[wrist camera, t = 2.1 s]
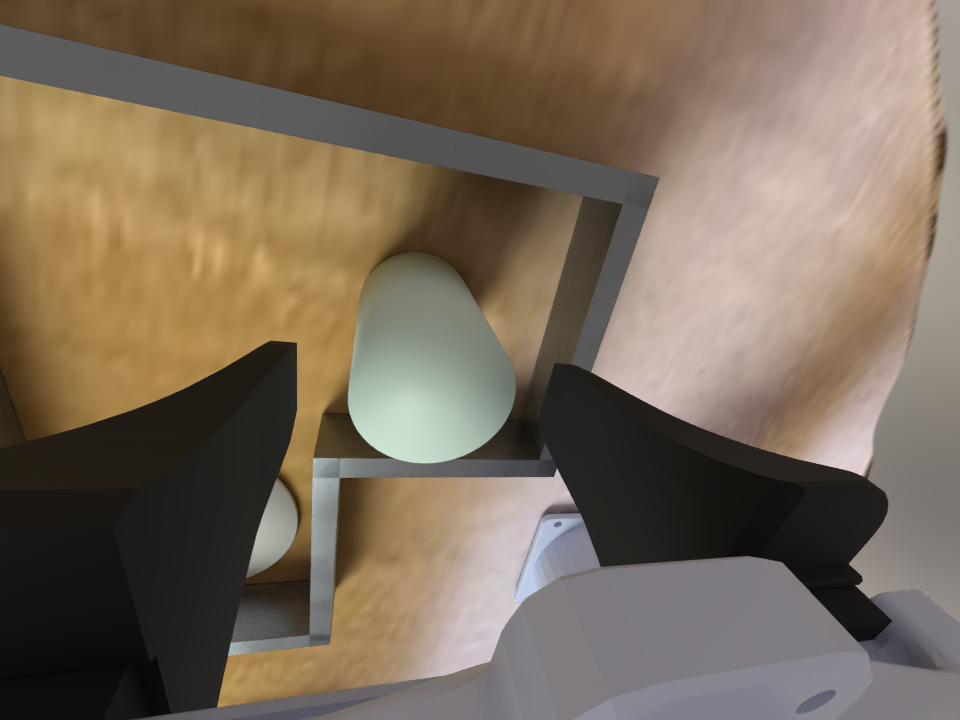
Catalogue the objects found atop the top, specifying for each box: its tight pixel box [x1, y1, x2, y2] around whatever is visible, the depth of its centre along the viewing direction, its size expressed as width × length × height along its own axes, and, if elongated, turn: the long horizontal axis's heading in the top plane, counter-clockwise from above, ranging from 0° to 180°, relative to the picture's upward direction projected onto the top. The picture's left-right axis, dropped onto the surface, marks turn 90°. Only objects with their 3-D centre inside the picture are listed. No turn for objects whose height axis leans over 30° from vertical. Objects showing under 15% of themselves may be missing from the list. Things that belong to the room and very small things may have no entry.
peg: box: [348, 252, 516, 463], centre depth 14 cm, size 4×4×7 cm
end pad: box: [246, 477, 298, 578], centre depth 20 cm, size 9×9×1 cm
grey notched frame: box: [0, 24, 659, 655], centre depth 17 cm, size 22×24×3 cm
